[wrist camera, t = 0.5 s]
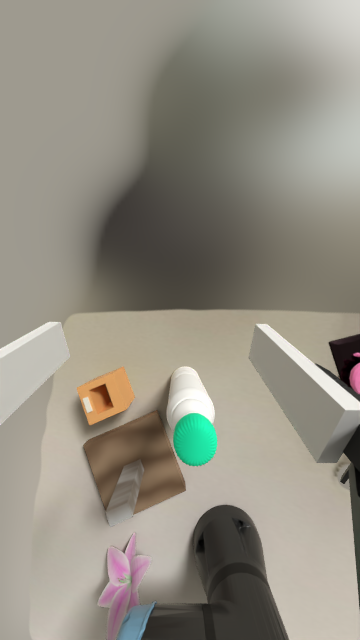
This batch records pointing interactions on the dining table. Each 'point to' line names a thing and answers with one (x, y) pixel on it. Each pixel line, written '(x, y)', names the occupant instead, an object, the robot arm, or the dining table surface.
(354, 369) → the lizard figurine
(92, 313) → the dining table surface
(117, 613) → the lily
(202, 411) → the water bottle
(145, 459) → the board
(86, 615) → the dining table surface
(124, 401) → the orange slotted box
